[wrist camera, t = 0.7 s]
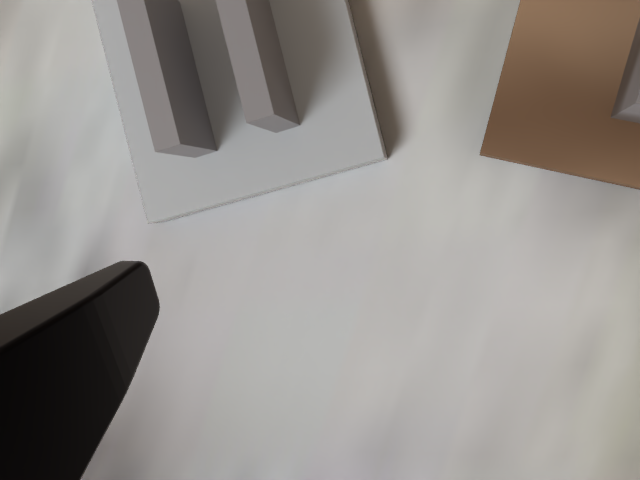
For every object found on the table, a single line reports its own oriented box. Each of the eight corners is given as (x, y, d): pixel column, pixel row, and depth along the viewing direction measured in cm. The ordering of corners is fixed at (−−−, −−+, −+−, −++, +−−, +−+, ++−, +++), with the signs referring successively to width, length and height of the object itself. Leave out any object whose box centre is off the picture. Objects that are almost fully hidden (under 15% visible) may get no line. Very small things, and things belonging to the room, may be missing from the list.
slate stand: (387, 159, 22) (370, 150, 18) (160, 222, 25) (102, 227, 21) (323, -98, 22) (292, -161, 18) (102, -6, 24) (33, -45, 21)
